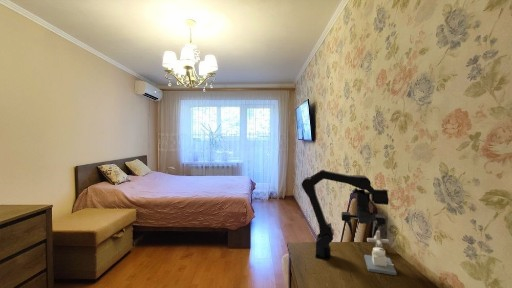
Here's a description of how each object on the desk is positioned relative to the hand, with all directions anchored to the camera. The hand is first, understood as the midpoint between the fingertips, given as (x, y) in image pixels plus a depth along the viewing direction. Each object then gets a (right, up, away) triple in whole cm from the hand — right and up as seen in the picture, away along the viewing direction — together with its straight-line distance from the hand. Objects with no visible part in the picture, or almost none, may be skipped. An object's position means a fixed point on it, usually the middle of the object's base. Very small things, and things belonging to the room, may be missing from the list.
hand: (362, 235), depth 116 cm
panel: (+6, -12, -3) cm, 14 cm away
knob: (+6, -11, -4) cm, 13 cm away
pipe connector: (+13, -12, +11) cm, 21 cm away
